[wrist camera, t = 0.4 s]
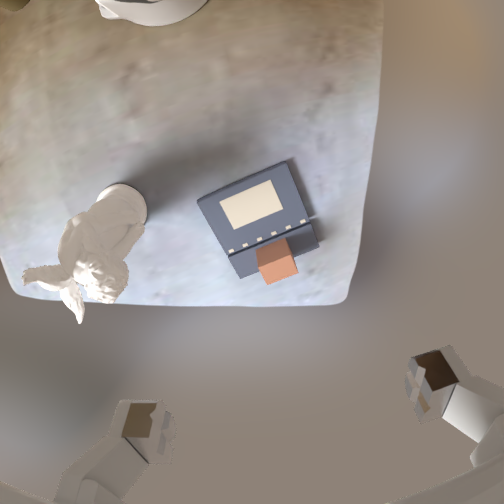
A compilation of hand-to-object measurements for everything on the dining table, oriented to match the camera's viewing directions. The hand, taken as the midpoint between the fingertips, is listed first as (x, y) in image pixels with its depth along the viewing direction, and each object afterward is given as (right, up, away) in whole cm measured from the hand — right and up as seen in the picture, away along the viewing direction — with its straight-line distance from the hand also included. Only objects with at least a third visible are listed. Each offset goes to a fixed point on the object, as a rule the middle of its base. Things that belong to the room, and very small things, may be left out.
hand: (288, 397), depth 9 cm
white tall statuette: (-22, +10, +38) cm, 45 cm away
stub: (+2, +5, +42) cm, 43 cm away
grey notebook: (-1, +11, +39) cm, 40 cm away
